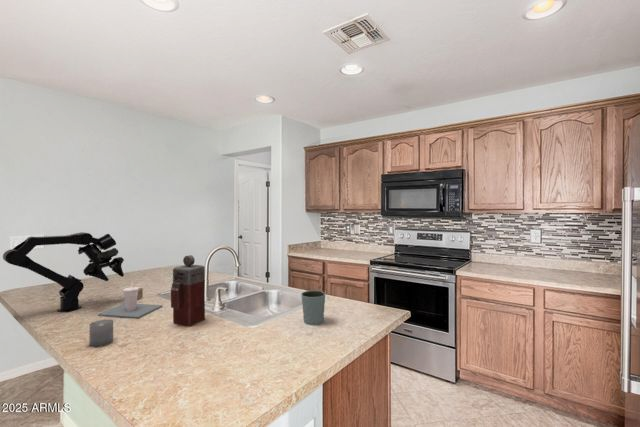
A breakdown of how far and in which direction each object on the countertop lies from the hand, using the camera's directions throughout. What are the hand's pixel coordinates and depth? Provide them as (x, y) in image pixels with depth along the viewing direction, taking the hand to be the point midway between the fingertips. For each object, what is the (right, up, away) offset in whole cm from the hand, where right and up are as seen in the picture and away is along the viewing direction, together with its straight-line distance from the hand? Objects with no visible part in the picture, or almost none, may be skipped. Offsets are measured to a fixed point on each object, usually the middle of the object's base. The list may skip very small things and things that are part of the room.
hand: (115, 278), depth 152 cm
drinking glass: (+96, -15, -18) cm, 99 cm away
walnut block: (+2, -13, +12) cm, 18 cm away
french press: (+43, -15, -20) cm, 49 cm away
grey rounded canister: (+21, -15, -39) cm, 47 cm away
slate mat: (+12, -14, -7) cm, 19 cm away
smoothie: (+12, -13, -7) cm, 19 cm away
